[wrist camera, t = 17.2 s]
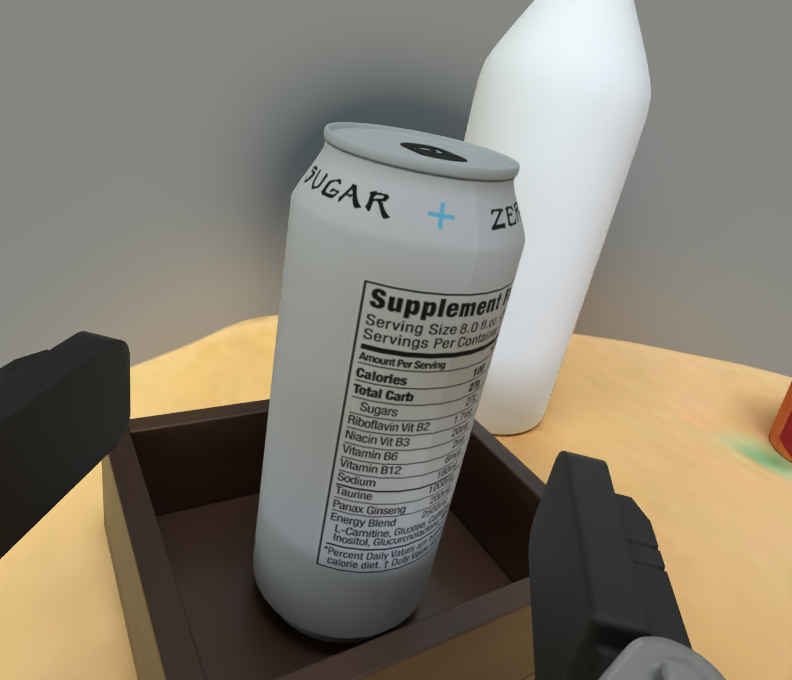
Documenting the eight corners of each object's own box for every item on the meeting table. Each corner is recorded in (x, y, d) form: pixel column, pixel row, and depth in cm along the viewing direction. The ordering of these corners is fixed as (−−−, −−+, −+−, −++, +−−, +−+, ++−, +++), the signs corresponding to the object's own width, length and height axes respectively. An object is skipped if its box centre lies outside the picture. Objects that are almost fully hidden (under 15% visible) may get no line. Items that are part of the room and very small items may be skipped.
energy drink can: (374, 505, 25) (454, 131, 18) (454, 623, 20) (597, 184, 14) (229, 540, 22) (264, 107, 15) (286, 688, 17) (370, 164, 11)
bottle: (467, 450, 31) (702, -367, 18) (384, 372, 36) (515, -288, 23) (571, 421, 35) (818, -246, 22) (483, 355, 41) (638, -205, 28)
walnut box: (410, 456, 29) (429, 375, 27) (583, 656, 21) (629, 560, 19) (104, 525, 22) (100, 422, 20) (179, 872, 14) (184, 754, 12)
